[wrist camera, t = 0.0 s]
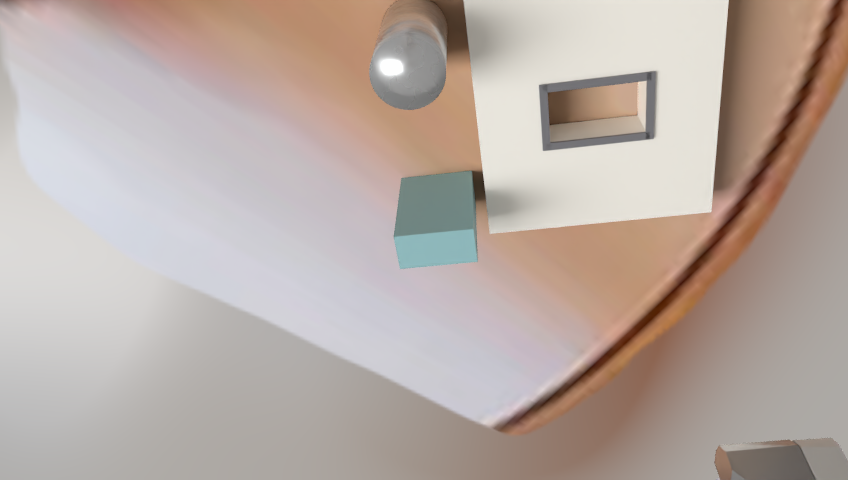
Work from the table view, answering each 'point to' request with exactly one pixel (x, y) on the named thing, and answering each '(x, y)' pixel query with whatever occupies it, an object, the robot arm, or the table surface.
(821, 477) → the robot arm
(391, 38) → the round peg
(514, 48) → the socket plate
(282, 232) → the table surface
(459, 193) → the flat bar
